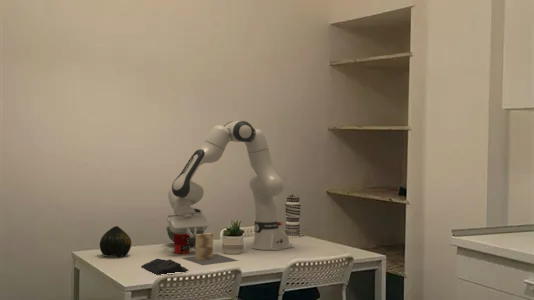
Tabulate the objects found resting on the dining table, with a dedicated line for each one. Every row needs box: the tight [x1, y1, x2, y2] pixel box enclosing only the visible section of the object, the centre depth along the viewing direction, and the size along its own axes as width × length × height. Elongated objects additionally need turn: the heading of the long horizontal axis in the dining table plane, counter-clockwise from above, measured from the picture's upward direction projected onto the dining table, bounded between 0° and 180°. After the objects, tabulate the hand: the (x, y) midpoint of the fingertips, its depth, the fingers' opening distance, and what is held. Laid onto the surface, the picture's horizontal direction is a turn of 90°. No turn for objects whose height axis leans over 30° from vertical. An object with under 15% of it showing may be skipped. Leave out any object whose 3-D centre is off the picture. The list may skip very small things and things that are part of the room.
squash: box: [99, 225, 132, 258], centre depth 311 cm, size 14×15×15 cm
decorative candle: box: [284, 193, 301, 238], centre depth 378 cm, size 9×9×25 cm
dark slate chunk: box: [140, 258, 190, 276], centre depth 282 cm, size 15×22×5 cm
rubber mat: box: [181, 253, 240, 266], centre depth 303 cm, size 20×20×1 cm
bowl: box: [166, 225, 205, 247], centre depth 342 cm, size 21×21×10 cm
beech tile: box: [194, 232, 214, 260], centre depth 304 cm, size 8×2×12 cm, turn 127°
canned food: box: [173, 231, 190, 255], centre depth 319 cm, size 8×8×11 cm
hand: (193, 236), depth 311 cm, fingers closed
